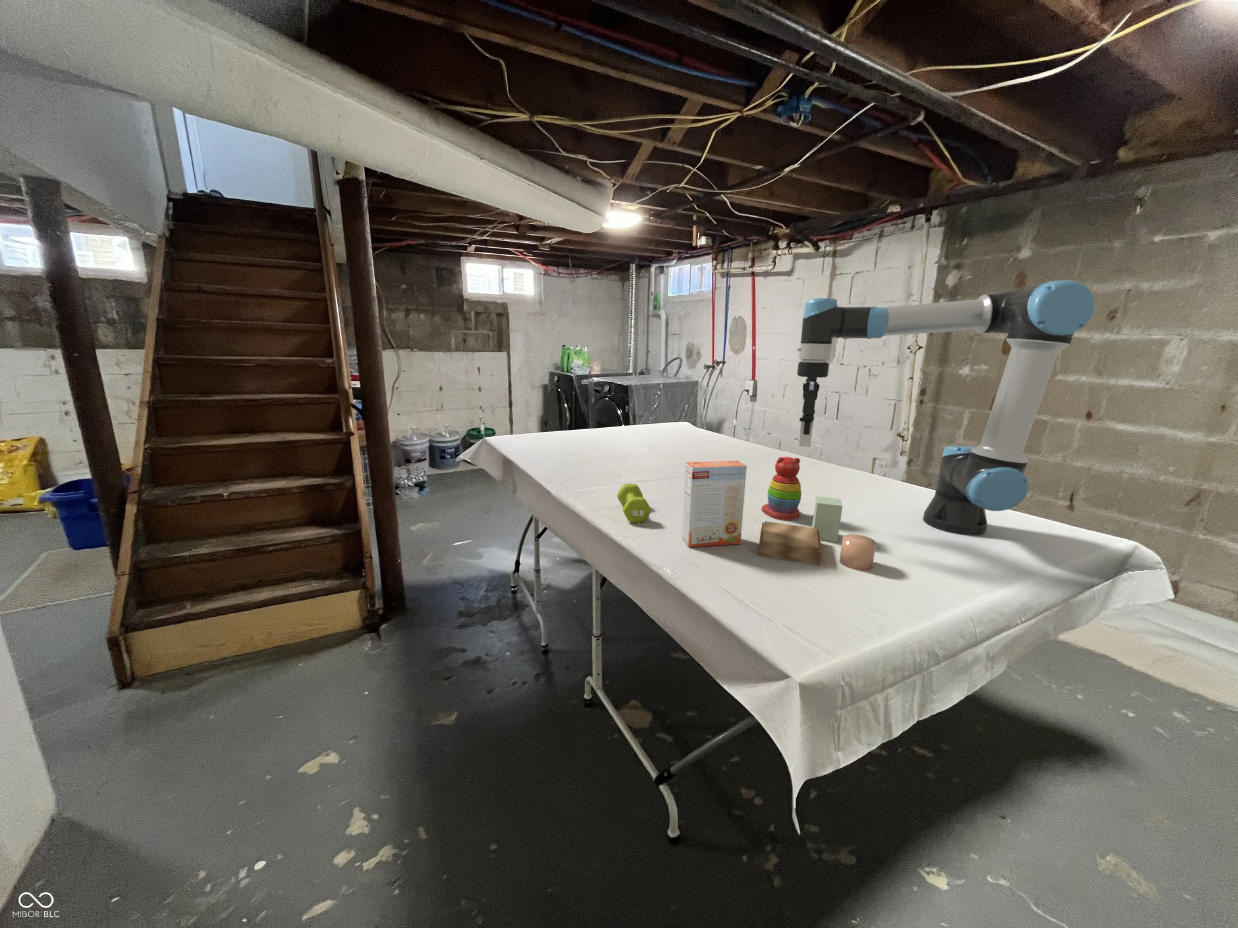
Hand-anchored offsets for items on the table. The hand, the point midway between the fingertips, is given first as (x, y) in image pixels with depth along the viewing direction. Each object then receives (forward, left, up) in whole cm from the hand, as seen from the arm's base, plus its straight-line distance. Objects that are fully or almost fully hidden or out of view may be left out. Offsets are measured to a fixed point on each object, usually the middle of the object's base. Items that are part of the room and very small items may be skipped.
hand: (804, 441), depth 131 cm
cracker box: (+21, +21, -24) cm, 38 cm away
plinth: (+2, +18, -24) cm, 30 cm away
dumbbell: (+45, +9, -24) cm, 52 cm away
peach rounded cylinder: (-13, +21, -24) cm, 34 cm away
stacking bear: (+4, -7, -24) cm, 26 cm away
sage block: (-7, +6, -24) cm, 26 cm away
